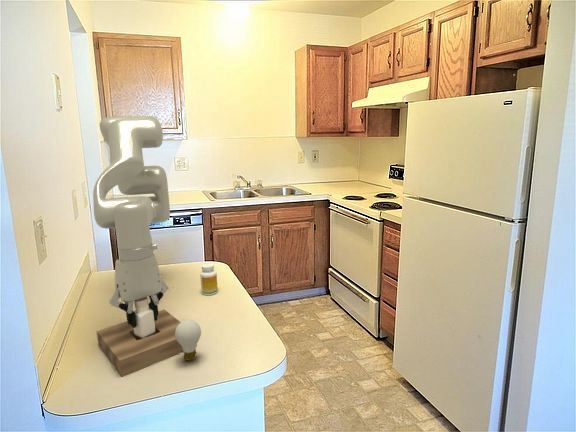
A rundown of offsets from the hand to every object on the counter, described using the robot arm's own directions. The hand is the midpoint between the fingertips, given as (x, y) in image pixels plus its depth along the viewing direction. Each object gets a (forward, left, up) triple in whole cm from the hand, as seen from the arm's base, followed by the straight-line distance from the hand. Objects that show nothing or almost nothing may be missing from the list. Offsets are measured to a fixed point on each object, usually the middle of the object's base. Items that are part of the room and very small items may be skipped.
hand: (143, 321), depth 97 cm
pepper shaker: (0, 0, -4) cm, 4 cm away
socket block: (0, 0, -7) cm, 7 cm away
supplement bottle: (-19, +29, -7) cm, 35 cm away
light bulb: (+13, +6, -7) cm, 16 cm away
